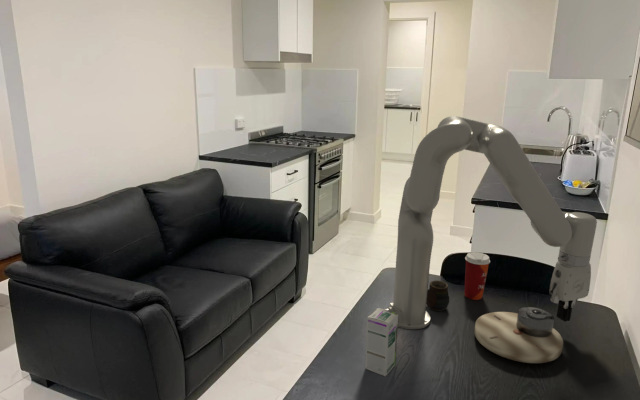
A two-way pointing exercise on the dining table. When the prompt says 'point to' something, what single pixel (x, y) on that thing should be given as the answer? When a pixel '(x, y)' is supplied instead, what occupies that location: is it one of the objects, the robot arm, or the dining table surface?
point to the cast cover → (535, 322)
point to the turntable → (515, 339)
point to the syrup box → (381, 341)
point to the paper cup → (475, 274)
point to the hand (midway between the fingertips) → (563, 318)
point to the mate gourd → (437, 295)
